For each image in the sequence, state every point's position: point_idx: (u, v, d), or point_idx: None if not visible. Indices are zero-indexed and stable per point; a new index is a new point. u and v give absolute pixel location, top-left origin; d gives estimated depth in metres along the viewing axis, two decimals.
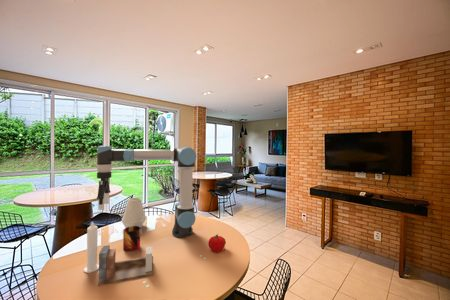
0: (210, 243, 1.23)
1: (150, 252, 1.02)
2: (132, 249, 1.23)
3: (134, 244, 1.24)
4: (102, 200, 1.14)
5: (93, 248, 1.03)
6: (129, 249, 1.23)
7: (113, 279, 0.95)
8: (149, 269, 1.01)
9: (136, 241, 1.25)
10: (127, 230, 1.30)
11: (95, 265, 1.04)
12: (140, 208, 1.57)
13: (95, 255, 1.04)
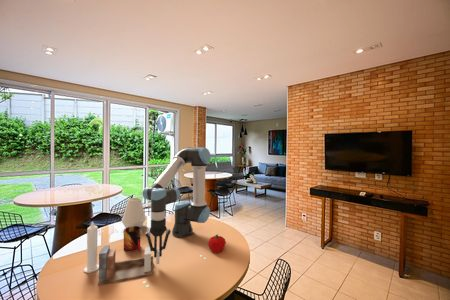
0: (210, 243, 1.23)
1: (149, 252, 1.02)
2: (132, 249, 1.23)
3: (134, 244, 1.24)
4: (155, 253, 1.05)
5: (93, 248, 1.03)
6: (129, 249, 1.23)
7: (113, 279, 0.95)
8: (148, 269, 1.01)
9: (136, 241, 1.25)
10: (127, 230, 1.30)
11: (95, 265, 1.04)
12: (140, 208, 1.57)
13: (95, 255, 1.04)
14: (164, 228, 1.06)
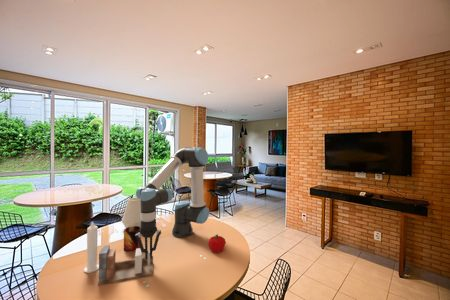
0: (210, 243, 1.23)
1: (139, 254, 1.01)
2: (132, 249, 1.23)
3: (134, 244, 1.24)
4: (147, 254, 1.03)
5: (93, 248, 1.03)
6: (129, 249, 1.23)
7: (113, 279, 0.95)
8: (138, 271, 0.99)
9: (136, 241, 1.25)
10: (127, 230, 1.30)
11: (95, 265, 1.04)
12: (140, 208, 1.57)
13: (95, 255, 1.04)
14: (154, 229, 1.04)
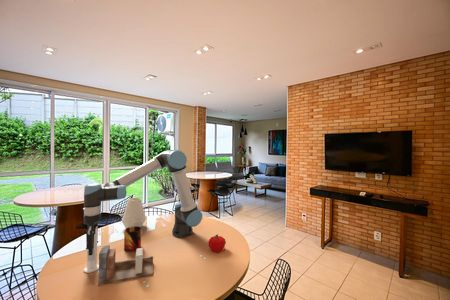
0: (210, 243, 1.23)
1: (140, 254, 1.01)
2: (133, 250, 1.23)
3: (135, 245, 1.24)
4: (92, 250, 1.02)
5: None
6: (130, 250, 1.22)
7: (113, 279, 0.95)
8: (139, 271, 1.00)
9: (137, 241, 1.25)
10: (128, 230, 1.29)
11: (95, 265, 1.04)
12: (140, 208, 1.57)
13: (95, 255, 1.04)
14: (96, 221, 1.08)
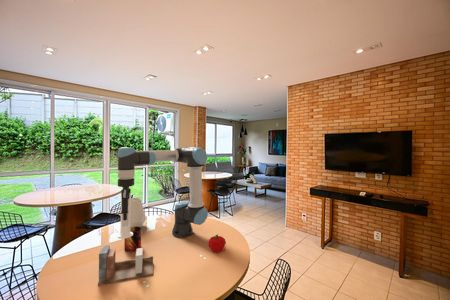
0: (210, 243, 1.23)
1: (140, 254, 1.01)
2: (133, 250, 1.23)
3: (135, 245, 1.23)
4: (126, 215, 0.98)
5: None
6: (130, 250, 1.22)
7: (113, 279, 0.95)
8: (139, 271, 1.00)
9: (137, 242, 1.24)
10: None
11: (129, 231, 1.00)
12: (140, 208, 1.57)
13: (129, 221, 1.00)
14: None
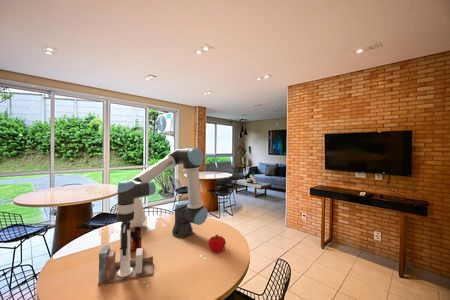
0: (210, 243, 1.23)
1: (140, 254, 1.01)
2: (133, 250, 1.23)
3: (135, 245, 1.23)
4: (126, 250, 0.97)
5: None
6: (130, 250, 1.22)
7: (113, 279, 0.95)
8: (139, 271, 1.00)
9: (137, 242, 1.24)
10: None
11: (128, 269, 1.00)
12: (140, 208, 1.57)
13: (128, 258, 0.99)
14: None
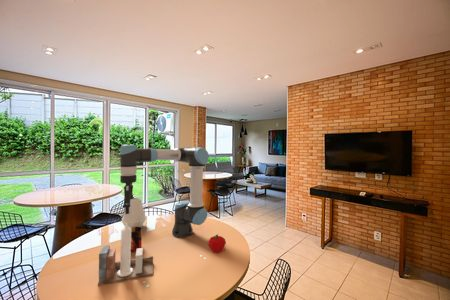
0: (210, 243, 1.23)
1: (140, 254, 1.01)
2: (134, 250, 1.22)
3: (136, 245, 1.23)
4: (128, 208, 0.97)
5: (127, 250, 0.99)
6: (131, 250, 1.22)
7: (113, 279, 0.95)
8: (139, 271, 1.00)
9: (138, 242, 1.24)
10: None
11: (128, 268, 1.00)
12: (140, 208, 1.57)
13: (129, 258, 1.00)
14: (131, 183, 1.07)
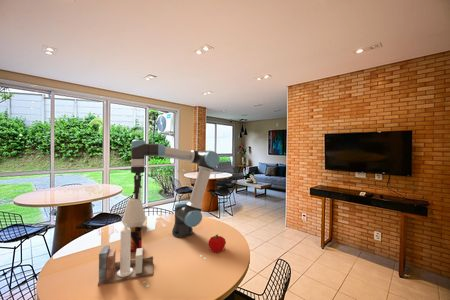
0: (210, 243, 1.23)
1: (140, 254, 1.01)
2: (134, 250, 1.22)
3: (136, 245, 1.23)
4: (138, 195, 1.12)
5: (127, 251, 0.99)
6: (131, 250, 1.22)
7: (113, 279, 0.95)
8: (139, 271, 1.00)
9: (138, 242, 1.24)
10: None
11: (128, 269, 1.00)
12: (140, 208, 1.57)
13: (128, 258, 1.00)
14: (140, 174, 1.22)
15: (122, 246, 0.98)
